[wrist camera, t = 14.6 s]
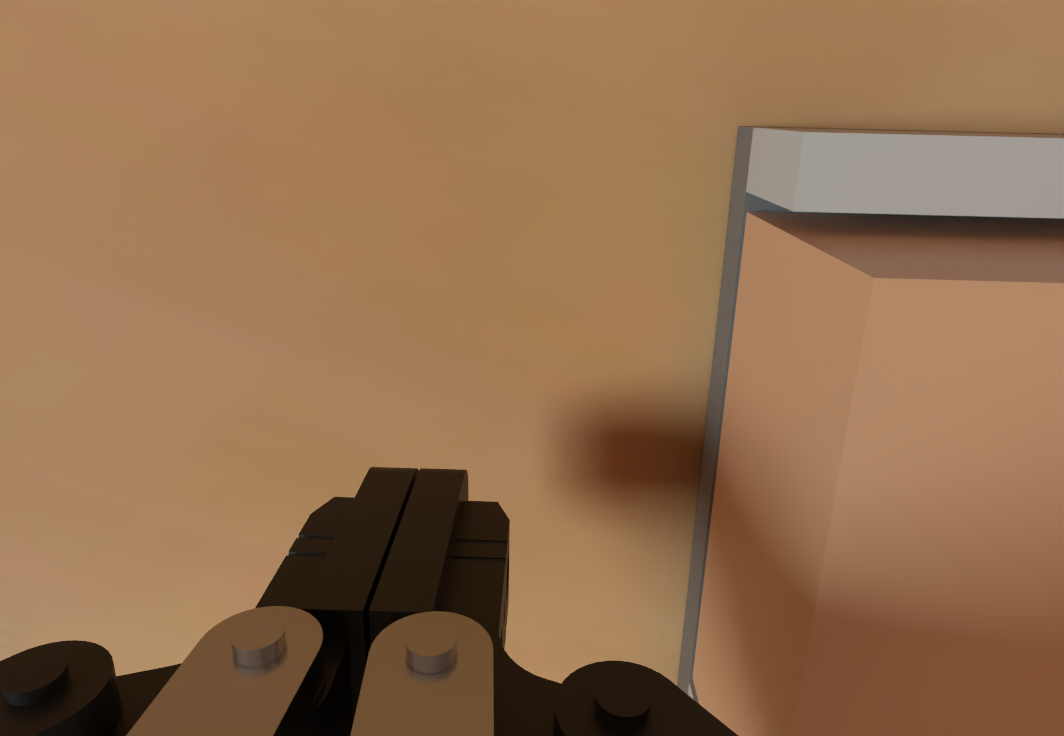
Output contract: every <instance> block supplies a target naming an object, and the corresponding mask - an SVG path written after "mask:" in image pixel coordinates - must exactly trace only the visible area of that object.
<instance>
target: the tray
mask: <svg viewBox="0 0 1064 736" xmlns="http://www.w3.org/2000/svg"><path fill="white" fill-rule="evenodd" d="M747 212H771V213H810V214H849V215H888V216H927V217H966V218H1004V219H1043V220H1064V134H1043V133H1001V132H959V131H918V130H876V129H834V128H792V127H751V126H738V135H737V144H736V153H735V162H734V171H733V180H732V189H731V199H730V208H729V217H728V226H727V235H726V244H725V254H724V263H723V272H722V281H721V290H720V299H719V309H718V318H717V327H716V336H715V345H714V354H713V364H712V373H711V382H710V391H709V400H708V409H707V419H706V428H705V437H704V446H703V455H702V464H701V474H700V483H699V492H698V501H697V510H696V519H695V529H694V538H693V547H692V556H691V565H690V574H689V583H688V593H687V602H686V611H685V620H684V629H683V638H682V648H681V657H680V666H679V675H678V684H677V686H678V687H679V688H680V689H681V690H682V691H684V692H685V693H686V694H687V695H689V696H690V697H691V698H692V699H694V700H695V701H696V702H697V703H698V704H699V702H698V698H697V694H696V690H695V686H694V682H693V678H692V677H693V668H694V660H695V651H696V643H697V634H698V626H699V617H700V608H701V600H702V591H703V583H704V574H705V566H706V557H707V549H708V540H709V532H710V523H711V514H712V506H713V497H714V489H715V480H716V472H717V463H718V455H719V446H720V438H721V429H722V420H723V412H724V403H725V395H726V386H727V378H728V369H729V361H730V352H731V344H732V335H733V326H734V318H735V309H736V301H737V292H738V284H739V275H740V267H741V258H742V250H743V241H744V232H745V224H746V215H747Z"/></svg>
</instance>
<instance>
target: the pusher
mask: <svg viewBox="0 0 1064 736" xmlns="http://www.w3.org/2000/svg"><path fill="white" fill-rule="evenodd" d="M692 678H693V682H694V686H695V690H696V694H697V698H698V702H699V704H700V705H701V706H702V707H703V708H705V709H706V710H707V711H708V712H710V713H711V714H712V715H713V716H715V717H716V718H717V719H718V720H720V721H721V722H722V723H723V724H725V725H726V726H727V727H728V728H730V729H731V730H732V731H733V732H735V733H736V734H737V735H738V736H1064V220H1043V219H1004V218H966V217H927V216H888V215H849V214H810V213H771V212H747V215H746V224H745V232H744V241H743V250H742V258H741V267H740V275H739V284H738V292H737V301H736V309H735V318H734V326H733V335H732V344H731V352H730V361H729V369H728V378H727V386H726V395H725V403H724V412H723V420H722V429H721V438H720V446H719V455H718V463H717V472H716V480H715V489H714V497H713V506H712V514H711V523H710V532H709V540H708V549H707V557H706V566H705V574H704V583H703V591H702V600H701V608H700V617H699V626H698V634H697V643H696V651H695V660H694V668H693V677H692Z"/></svg>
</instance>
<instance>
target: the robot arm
mask: <svg viewBox="0 0 1064 736" xmlns="http://www.w3.org/2000/svg"><path fill="white" fill-rule="evenodd" d="M509 524H510V520H509V518H508V517H507V515H506V514H505V512H504V511H503V509H502V508H501V506H500V505H499V503H498V502H482V501H468V474H467V470H454V469H422V468H421V469H420V470H418V469H417V468H385V467H371V468H370V469H369V471H368V472H367V474H366V476H365V478H364V480H363V482H362V484H361V486H360V488H359V490H358V492H357V494H356V496H355V498H349V497H334V498H332V499H331V500H330V501H328V502H327V503H326V504H324V505H323V506H321V507H320V508H319V509H317V510H316V511H314V512H313V513H312V514H311V515H310V516H309V518H308V520H307V521H306V523H305V525H304V526H303V528H302V530H301V532H300V533H299V538H296V540H295V542H294V543H293V545H292V547H291V548H290V550H289V555H288V556H286V557H285V559H284V560H283V562H282V564H281V565H280V567H279V569H278V570H277V572H276V574H275V576H274V577H273V579H272V581H271V582H270V584H269V586H268V587H267V589H266V591H265V592H264V594H263V596H262V598H261V599H260V601H259V603H258V604H257V606H256V608H255V609H251V610H247V611H244V612H241V613H238V614H236V615H233V616H231V617H229V618H227V619H225V620H223V621H222V622H220V623H219V624H217V625H216V626H214V627H213V628H212V629H211V630H209V631H208V632H207V633H206V634H205V635H204V636H203V637H202V638H201V639H200V641H199V642H198V643H197V645H196V646H195V647H194V649H193V650H192V651H191V652H190V654H189V655H188V656H187V658H186V659H185V660H184V661H183V663H181V664H177V665H173V666H169V667H163V668H158V669H153V670H148V671H142V672H137V673H132V674H127V675H122V676H116V673H115V668H114V663H113V659H112V656H111V655H110V653H109V652H108V651H107V650H106V649H105V648H104V647H102V646H100V645H98V644H95V643H92V642H87V641H76V640H75V641H61V642H54V643H49V644H45V645H41V646H37V647H34V648H31V649H28V650H25V651H23V652H20V653H18V654H16V655H13V656H11V657H9V658H7V659H4V660H2V661H0V736H738V735H737V734H736V733H735V732H733V731H732V730H731V729H730V728H728V727H727V726H726V725H725V724H723V723H722V722H721V721H720V720H718V719H717V718H716V717H715V716H713V715H712V714H711V713H710V712H708V711H707V710H706V709H705V708H703V707H702V706H701V705H700V704H698V703H697V702H696V701H695V700H694V699H692V698H691V697H690V696H689V695H687V694H686V693H685V692H684V691H682V690H681V689H680V688H679V687H677V686H676V685H675V684H674V683H672V682H671V681H670V680H669V679H667V678H666V677H664V676H663V675H661V674H660V673H658V672H656V671H654V670H652V669H650V668H647V667H645V666H642V665H639V664H635V663H631V662H624V661H603V662H596V663H593V664H589V665H586V666H584V667H582V668H579V669H577V670H576V671H574V672H573V673H571V674H570V675H569V676H568V677H567V678H566V679H565V680H564V681H563V682H562V684H561V683H557V682H554V681H551V680H547V679H544V678H542V677H539V676H536V675H534V674H532V673H530V672H528V671H526V670H524V669H523V668H522V667H520V666H519V665H517V664H516V663H515V662H514V661H513V660H512V659H511V658H510V657H509V656H508V654H507V653H506V652H505V650H504V647H505V637H506V625H507V613H508V590H509Z"/></svg>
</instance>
